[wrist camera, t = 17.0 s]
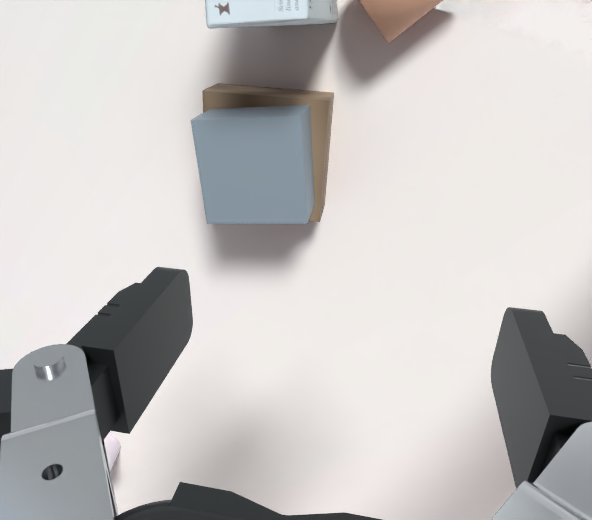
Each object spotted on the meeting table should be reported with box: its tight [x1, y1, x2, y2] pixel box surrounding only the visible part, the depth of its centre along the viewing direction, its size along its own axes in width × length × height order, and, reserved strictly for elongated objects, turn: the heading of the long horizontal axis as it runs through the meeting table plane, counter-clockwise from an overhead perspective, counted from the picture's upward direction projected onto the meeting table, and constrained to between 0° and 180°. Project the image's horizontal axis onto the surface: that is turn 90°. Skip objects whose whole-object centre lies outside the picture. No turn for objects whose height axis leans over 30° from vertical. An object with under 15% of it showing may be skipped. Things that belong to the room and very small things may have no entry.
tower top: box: [191, 105, 315, 224], centre depth 38 cm, size 8×8×4 cm
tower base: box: [203, 84, 334, 222], centre depth 42 cm, size 10×10×4 cm
